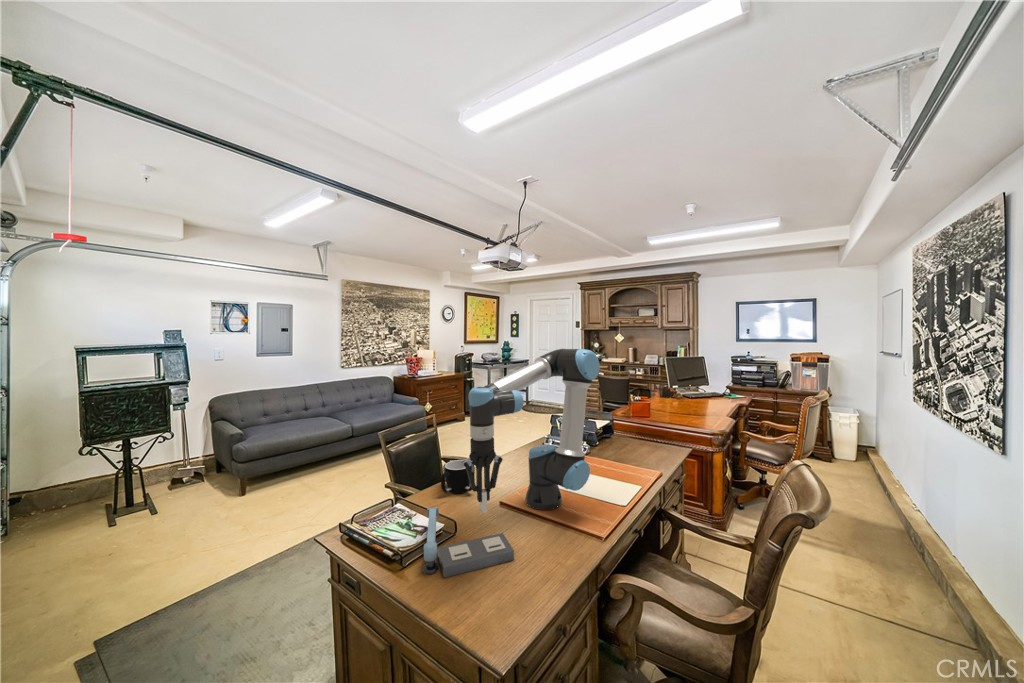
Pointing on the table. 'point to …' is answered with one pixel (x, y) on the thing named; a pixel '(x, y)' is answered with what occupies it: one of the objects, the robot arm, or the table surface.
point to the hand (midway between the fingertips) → (483, 510)
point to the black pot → (456, 477)
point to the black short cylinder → (430, 567)
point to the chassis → (474, 554)
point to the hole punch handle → (431, 535)
